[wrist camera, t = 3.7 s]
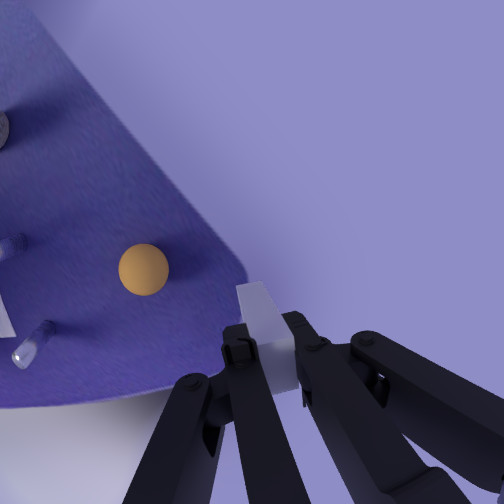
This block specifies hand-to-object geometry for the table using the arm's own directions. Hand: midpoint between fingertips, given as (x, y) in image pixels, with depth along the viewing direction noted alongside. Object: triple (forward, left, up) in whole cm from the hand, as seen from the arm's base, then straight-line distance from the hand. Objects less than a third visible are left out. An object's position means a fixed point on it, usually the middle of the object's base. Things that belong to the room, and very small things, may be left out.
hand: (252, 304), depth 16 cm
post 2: (-28, -6, -16) cm, 33 cm away
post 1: (-28, +6, -16) cm, 33 cm away
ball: (-10, 0, -13) cm, 16 cm away
